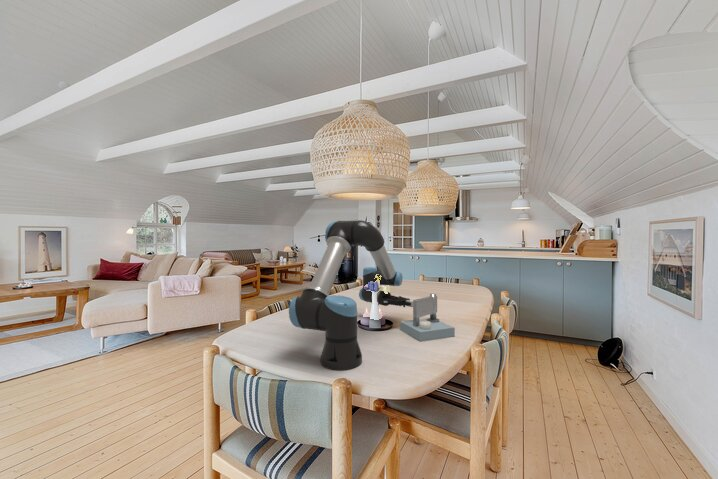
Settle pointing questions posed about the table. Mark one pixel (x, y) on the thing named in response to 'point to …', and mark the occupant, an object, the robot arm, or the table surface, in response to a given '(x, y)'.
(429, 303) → the grey upright panel
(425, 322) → the cover cap
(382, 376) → the table surface
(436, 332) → the blue-grey square base
